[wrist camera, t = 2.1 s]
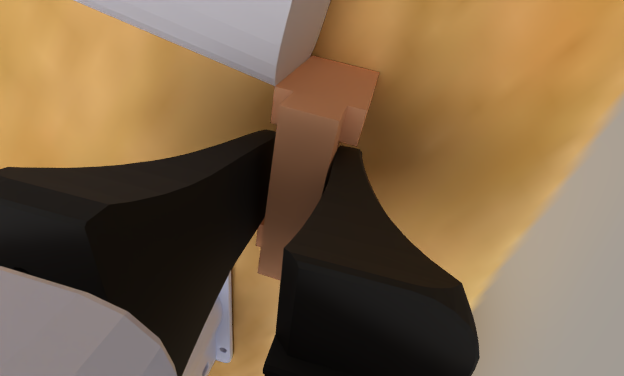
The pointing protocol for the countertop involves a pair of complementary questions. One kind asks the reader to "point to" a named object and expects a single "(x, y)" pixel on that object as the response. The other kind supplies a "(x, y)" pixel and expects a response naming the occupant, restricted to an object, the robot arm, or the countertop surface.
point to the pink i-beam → (308, 145)
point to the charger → (231, 29)
